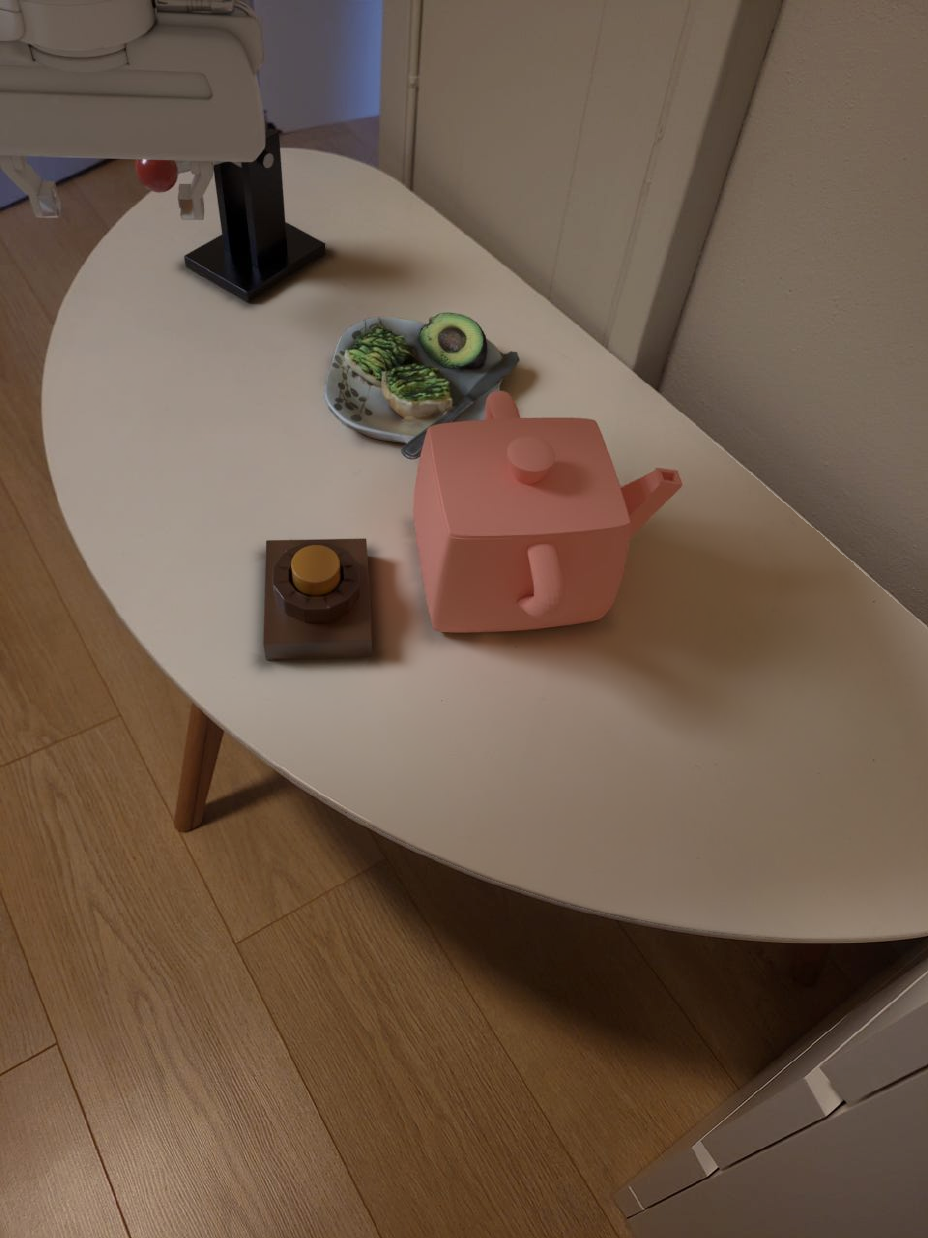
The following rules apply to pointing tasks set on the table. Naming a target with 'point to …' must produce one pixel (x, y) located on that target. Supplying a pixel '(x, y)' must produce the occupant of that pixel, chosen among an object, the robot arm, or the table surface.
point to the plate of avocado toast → (413, 376)
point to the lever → (163, 172)
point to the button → (315, 570)
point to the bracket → (253, 229)
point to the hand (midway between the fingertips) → (122, 214)
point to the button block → (317, 605)
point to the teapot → (524, 520)
